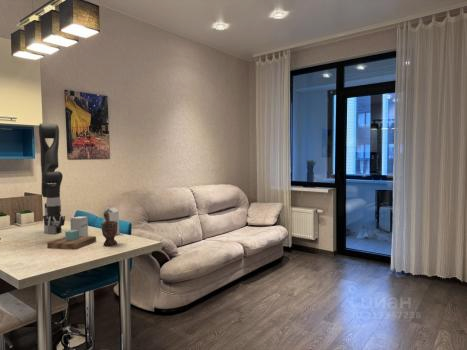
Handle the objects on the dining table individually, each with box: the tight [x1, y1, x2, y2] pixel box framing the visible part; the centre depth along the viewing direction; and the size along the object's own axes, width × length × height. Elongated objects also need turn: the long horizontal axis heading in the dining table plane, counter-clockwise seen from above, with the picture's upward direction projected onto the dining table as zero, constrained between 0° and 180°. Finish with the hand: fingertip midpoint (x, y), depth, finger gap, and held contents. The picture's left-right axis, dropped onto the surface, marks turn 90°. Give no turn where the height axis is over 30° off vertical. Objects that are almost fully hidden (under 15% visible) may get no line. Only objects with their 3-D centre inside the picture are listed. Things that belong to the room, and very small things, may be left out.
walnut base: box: [46, 235, 97, 250], centre depth 191 cm, size 18×18×3 cm
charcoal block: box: [47, 224, 62, 236], centre depth 199 cm, size 5×5×5 cm
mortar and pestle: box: [100, 211, 118, 247], centre depth 187 cm, size 12×9×20 cm
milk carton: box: [102, 204, 120, 236], centre depth 215 cm, size 7×7×19 cm
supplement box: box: [69, 215, 89, 236], centre depth 210 cm, size 7×7×13 cm
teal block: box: [64, 229, 79, 241], centre depth 190 cm, size 5×5×5 cm
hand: (54, 232), depth 199 cm, fingers closed on charcoal block, 5 cm apart
